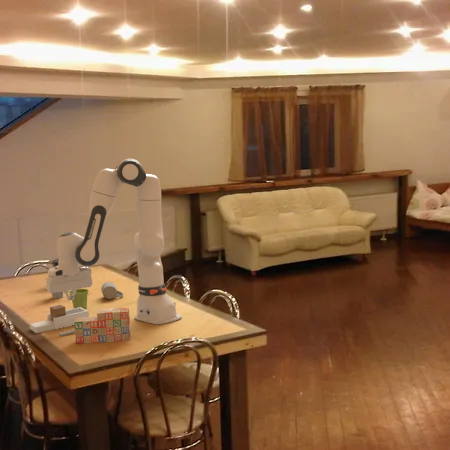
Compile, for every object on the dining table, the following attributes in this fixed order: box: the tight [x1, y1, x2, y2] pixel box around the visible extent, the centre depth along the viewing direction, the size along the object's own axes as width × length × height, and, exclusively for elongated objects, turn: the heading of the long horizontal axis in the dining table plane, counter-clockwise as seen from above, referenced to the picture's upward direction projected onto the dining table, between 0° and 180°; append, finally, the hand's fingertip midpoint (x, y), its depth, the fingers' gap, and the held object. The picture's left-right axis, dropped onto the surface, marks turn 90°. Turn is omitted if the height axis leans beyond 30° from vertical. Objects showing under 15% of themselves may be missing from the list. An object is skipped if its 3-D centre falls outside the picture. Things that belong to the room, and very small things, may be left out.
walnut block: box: [49, 304, 66, 322], centre depth 278 cm, size 5×5×6 cm
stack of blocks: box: [74, 307, 131, 345], centre depth 255 cm, size 21×6×12 cm, turn 94°
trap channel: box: [29, 307, 90, 334], centre depth 278 cm, size 9×24×5 cm, turn 126°
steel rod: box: [58, 328, 75, 337], centre depth 268 cm, size 14×2×2 cm
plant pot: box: [68, 288, 90, 309], centre depth 305 cm, size 9×9×9 cm
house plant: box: [45, 266, 64, 299], centre depth 329 cm, size 14×14×16 cm
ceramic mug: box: [100, 281, 124, 300], centre depth 323 cm, size 11×8×8 cm
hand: (70, 299), depth 281 cm, fingers closed
